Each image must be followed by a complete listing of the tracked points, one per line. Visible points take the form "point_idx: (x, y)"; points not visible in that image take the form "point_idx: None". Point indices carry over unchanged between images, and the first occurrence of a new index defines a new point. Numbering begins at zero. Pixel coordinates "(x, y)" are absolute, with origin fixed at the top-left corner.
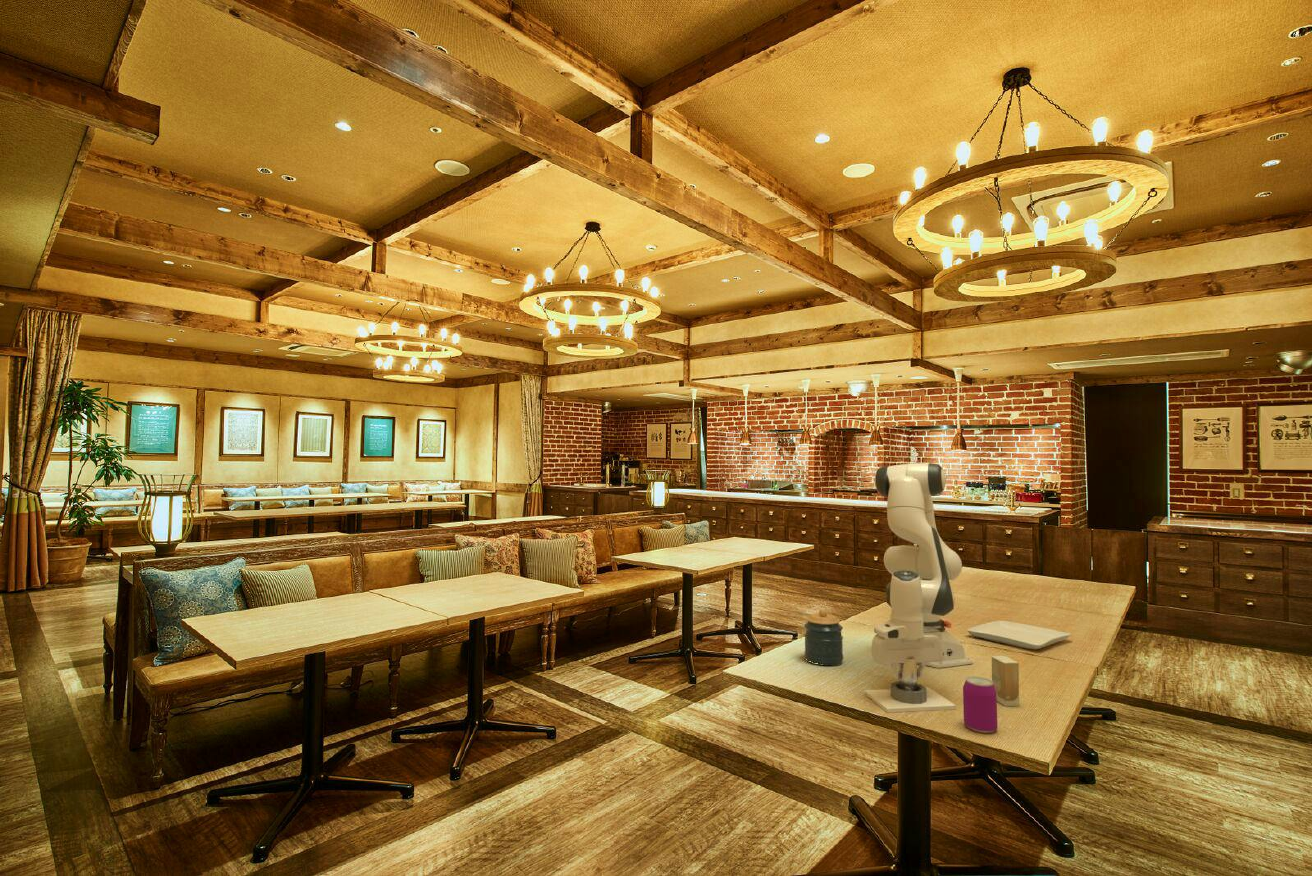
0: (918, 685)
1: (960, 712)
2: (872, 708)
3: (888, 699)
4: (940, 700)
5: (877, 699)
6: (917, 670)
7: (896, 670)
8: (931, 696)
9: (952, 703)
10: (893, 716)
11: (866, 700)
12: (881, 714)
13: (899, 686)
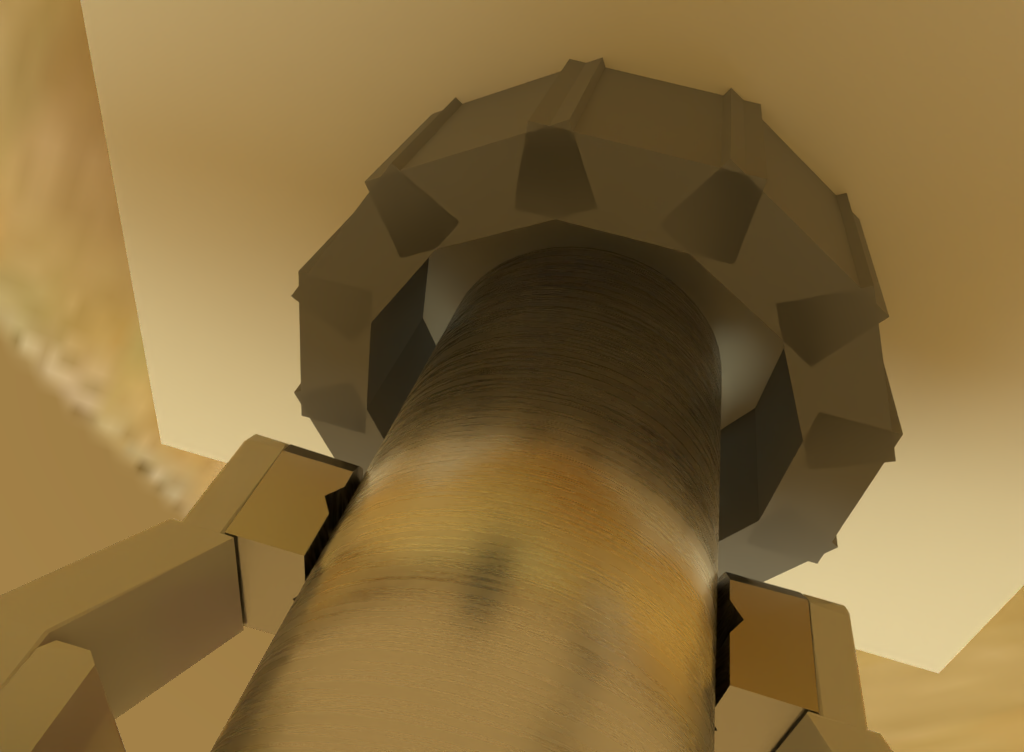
0: (811, 446)
1: (887, 678)
2: (68, 287)
3: (283, 267)
4: (931, 541)
5: (139, 213)
6: (792, 730)
7: (154, 665)
8: (970, 420)
9: (969, 636)
10: (206, 484)
11: (53, 56)
12: (115, 418)
13: (430, 356)
